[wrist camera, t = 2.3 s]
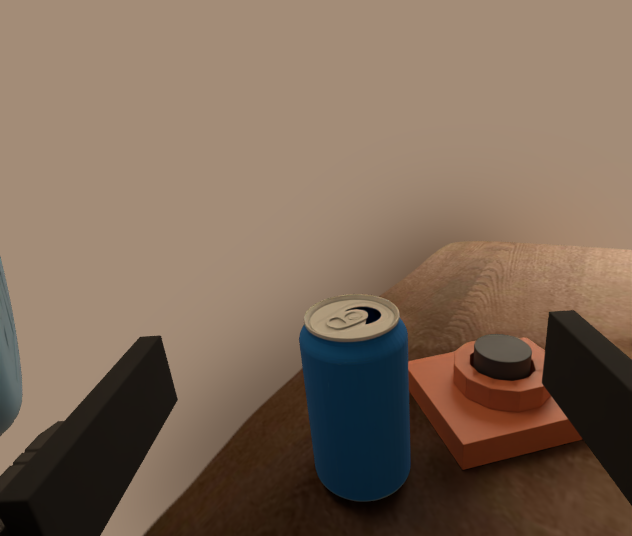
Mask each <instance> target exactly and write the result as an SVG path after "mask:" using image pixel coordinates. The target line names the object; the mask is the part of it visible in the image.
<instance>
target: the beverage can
mask: <svg viewBox="0 0 632 536" xmlns="http://www.w3.org/2000/svg"><path fill="white" fill-rule="evenodd" d="M299 342H300V350H301V358H302V366H303V374H304V381H305V389H306V397H307V405H308V412H309V420H310V428H311V436H312V443H313V451H314V459H315V467H316V471H317V474H318V477H319V478H320V480H321V482H322V483H323V484H324V486H325V487H326V488H328V489H329V490H330V491H331V492H333V493H334V494H336V495H338V496H340V497H342V498H345V499H348V500H353V501H374V500H379V499H382V498H385V497H387V496H389V495H391V494H393V493H394V492H395V491H397V490H398V489H399V488H400V487H401V486H402V485H403V484H404V482H405V481H406V479H407V477H408V474H409V472H410V419H409V376H408V333H407V329H406V327H405V325H404V323H403V321H402V320H401V319H400V318H399V310H398V308H397V307H396V306H395V305H394V304H393V303H392V302H390V301H388V300H386V299H384V298H381V297H377V296H372V295H365V294H351V295H341V296H336V297H332V298H328V299H326V300H323V301H320V302H319V303H317V304H315V305H313V306H312V307H311V308H310V309H308V311H307V312H306V314H305V316H304V326H303V328H302V330H301V332H300V337H299Z"/></svg>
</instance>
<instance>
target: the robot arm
mask: <svg viewBox="0 0 632 536" xmlns="http://www.w3.org/2000/svg"><path fill="white" fill-rule="evenodd" d="M542 384H543V386H544V387H545V388H546V390H547V391H548V392H549V394H550V395H551V396H552V398H553V399H554V401H555V402H556V403H557V405H558V406H559V407H560V409H561V410H562V411H563V413H564V414H565V415H566V417H567V418H568V420H569V421H570V422H571V424H572V425H573V426H574V428H575V429H576V430H577V432H578V433H579V435H580V436H581V437H582V439H583V440H584V441H585V443H586V444H587V445H588V447H589V448H590V449H591V451H592V452H593V454H594V455H595V456H596V458H597V459H598V460H599V462H600V463H601V464H602V466H603V467H604V469H605V470H606V471H607V473H608V474H609V475H610V477H611V478H612V479H613V481H614V482H615V484H616V485H617V486H618V488H619V489H620V490H621V492H622V493H623V494H624V496H625V497H626V498H627V500H628V501H629V503H630V504H631V505H632V360H631V359H630V358H629V357H628V356H627V355H625V354H624V353H623V352H622V351H621V350H620V349H618V348H617V347H616V346H615V345H614V344H613V343H611V342H610V341H609V340H608V339H607V338H606V337H604V336H603V335H602V334H601V333H600V332H599V331H597V330H596V329H595V328H594V327H593V326H592V325H590V324H589V323H588V322H587V321H586V320H585V319H583V318H582V317H581V316H580V315H579V314H578V313H576V312H575V311H574V310H571V311H555V312H549V318H548V327H547V337H546V346H545V356H544V365H543V375H542ZM177 400H178V399H177V395H176V392H175V388H174V384H173V380H172V377H171V373H170V369H169V365H168V361H167V358H166V354H165V350H164V346H163V343H162V338H161V336H147V337H140V338H139V339H138V340H137V341H136V342H135V343H134V344H133V345H132V346H131V348H130V349H129V350H128V351H127V352H126V353H125V354H124V355H123V357H122V358H121V359H120V360H119V361H118V362H117V363H116V364H115V365H114V366H113V368H112V369H111V370H110V371H109V372H108V373H107V374H106V375H105V377H104V378H103V379H102V380H101V381H100V382H99V383H98V384H97V385H96V387H95V388H94V389H93V390H92V391H91V392H90V393H89V394H88V395H87V397H86V398H85V399H84V400H83V401H82V402H81V403H80V404H79V405H78V407H77V408H76V409H75V410H74V411H73V412H72V413H71V414H70V416H69V417H68V418H67V419H66V420H65V421H58V422H57V423H55V424H54V425H53V426H51V427H50V428H48V429H47V430H45V431H44V432H42V433H41V434H40V435H38V436H37V438H36V439H35V440H34V441H33V442H32V443H31V444H30V445H29V446H28V447H27V448H26V449H25V452H24V453H22V454H21V455H20V456H19V457H18V458H17V459H16V460H15V461H14V462H13V465H12V466H10V467H9V468H8V469H7V470H6V471H5V472H4V473H3V474H2V475H1V476H0V536H100V535H101V533H102V532H103V530H104V528H105V526H106V525H107V523H108V521H109V519H110V517H111V516H112V514H113V512H114V510H115V509H116V507H117V505H118V504H119V502H120V500H121V498H122V497H123V495H124V493H125V491H126V489H127V488H128V486H129V484H130V483H131V481H132V479H133V477H134V475H135V473H136V472H137V470H138V469H139V467H140V465H141V463H142V462H143V460H144V458H145V456H146V454H147V453H148V451H149V449H150V447H151V446H152V444H153V442H154V440H155V439H156V437H157V435H158V433H159V432H160V430H161V428H162V426H163V425H164V423H165V421H166V419H167V418H168V416H169V414H170V412H171V411H172V409H173V407H174V405H175V404H176V402H177ZM21 403H22V375H21V366H20V357H19V350H18V343H17V336H16V330H15V324H14V318H13V313H12V307H11V302H10V297H9V293H8V288H7V283H6V279H5V275H4V270H3V266H2V262H1V257H0V436H1V435H2V433H4V432H5V431H6V430H7V429H8V428H9V427H10V426H11V425H12V423H13V422H14V420H15V418H16V417H17V415H18V413H19V410H20V407H21Z"/></svg>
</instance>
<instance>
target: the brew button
mask: <svg viewBox="0 0 632 536" xmlns="http://www.w3.org/2000/svg"><path fill="white" fill-rule="evenodd" d="M531 357H532V350H531V348H530V346H529V345H528V344H527V343H526V342H524V341H523V340H521V339H518V338H516V337H513V336H509V335H503V334H490V335H485V336H482V337H480V338H478V339H477V340H476V341H475V344H474V361H473V364H474V367H475V369H476V370H477V371H478V372H479V373H481V374H483V375H485V376H488V377H490V378H493V379H498V380H507V381H515V380H520V379H524V378H526V377H527V376H528V375H529V373H530V367H531Z"/></svg>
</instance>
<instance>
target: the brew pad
mask: <svg viewBox="0 0 632 536" xmlns="http://www.w3.org/2000/svg"><path fill="white" fill-rule="evenodd" d="M519 339H521V340H523V341H524V342H526V343H527V344H528V345H529V346H530V348H531V350H532V357H531V367H530V373H529V375H528V376H527V377H526V378H524V379H520V380H515V381H507V380H498V379H493V378H490V377H488V376H485V375H483V374H481V373H479V372H478V371H477V370H476V369H475V367H474V364H473V361H474V344H475V341H473V342H468V343H465V344H464V345H463V346H461V347H460V348H459V349H457V350H456V351H455V352H451V353H446V354H442V355H437V356H432V357H427V358H422V359H417V360H413V361H408V376H409V392H410V393H411V395H412V396H413V398H414V399H415V401H416V402H417V404H418V405H419V406H420V408H421V409H422V411H423V412H424V414H425V415H426V417H427V418H428V420H429V421H430V423H431V424H432V426H433V427H434V429H435V430H436V432H437V433H438V435H439V436H440V438H441V439H442V441H443V442H444V444H445V445H446V446H447V448H448V449H449V451H450V452H451V454H452V455H453V457H454V458H455V460H456V461H457V463H458V464H459V466H460V467H461V469H462V470H465V469H469V468H472V467H476V466H480V465H484V464H488V463H492V462H496V461H500V460H504V459H508V458H512V457H516V456H520V455H523V454H527V453H531V452H535V451H539V450H543V449H547V448H551V447H555V446H559V445H563V444H567V443H571V442H574V441H578V440H582V437H581V436H580V435H579V433H578V432H577V430H576V429H575V428H574V426H573V425H572V424H571V422H570V421H569V420H568V418H567V417H566V415H565V414H564V413H563V411H562V410H561V409H560V407H559V406H558V405H557V403H556V402H555V401H554V399H553V398H552V396H551V395H550V394H549V392H548V391H547V390H546V388H545V387H544V386H543V384H542V375H543V365H544V356H545V351H544V350H543V349H542V348H540V347H539V346H538V345H536V344H535V343H533V342H532V341H531V340H529V339H528V338H526V337H524V338H519Z"/></svg>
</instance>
